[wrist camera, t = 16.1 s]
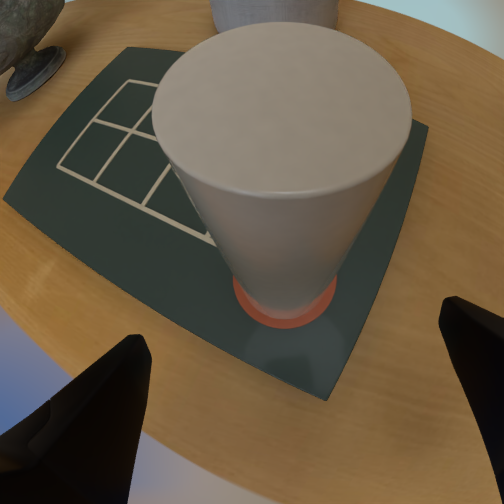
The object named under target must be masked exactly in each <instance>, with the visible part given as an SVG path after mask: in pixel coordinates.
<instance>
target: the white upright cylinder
mask: <svg viewBox="0 0 504 504" xmlns="http://www.w3.org/2000/svg"><path fill="white" fill-rule="evenodd" d="M152 125H153V131H154V133H155V136H156V139H157V142H158V143H159V145H160V147H161V149H162V151H163V153H164V154H165V156H166V158H167V160H168V162H169V163H170V165H171V167H172V169H173V171H174V172H175V174H176V176H177V178H178V180H179V181H180V183H181V185H182V187H183V188H184V190H185V192H186V194H187V196H188V197H189V199H190V201H191V203H192V204H193V206H194V208H195V210H196V211H197V213H198V215H199V217H200V218H201V220H202V222H203V224H204V225H205V227H206V229H207V231H208V232H209V234H210V236H211V238H212V239H213V241H214V243H215V244H216V246H217V248H218V250H219V251H220V253H221V255H222V257H223V258H224V260H225V262H226V263H227V265H228V267H229V268H230V270H231V272H232V274H233V275H234V277H235V279H236V280H237V282H238V284H239V285H240V287H241V289H242V290H243V292H244V294H245V295H246V297H247V299H248V300H249V302H250V303H251V304H252V305H253V307H255V308H256V309H257V310H258V311H259V312H261V313H262V314H264V315H266V316H269V317H272V318H276V319H293V318H297V317H300V316H303V315H305V314H307V313H308V312H310V311H311V310H312V309H313V308H315V307H316V306H317V304H318V303H319V302H320V301H321V299H322V297H323V296H324V294H325V293H326V291H327V289H328V288H329V286H330V284H331V283H332V281H333V279H334V278H335V276H336V274H337V273H338V271H339V269H340V267H341V266H342V264H343V262H344V261H345V259H346V257H347V255H348V254H349V252H350V250H351V248H352V247H353V245H354V243H355V241H356V240H357V238H358V236H359V234H360V232H361V231H362V229H363V227H364V225H365V223H366V221H367V220H368V218H369V216H370V214H371V212H372V210H373V208H374V207H375V205H376V203H377V201H378V199H379V197H380V195H381V193H382V191H383V189H384V187H385V185H386V183H387V181H388V179H389V177H390V175H391V173H392V171H393V169H394V167H395V165H396V163H397V161H398V159H399V157H400V155H401V153H402V151H403V149H404V147H405V145H406V143H407V140H408V138H409V134H410V131H411V126H412V108H411V101H410V98H409V94H408V91H407V89H406V87H405V85H404V83H403V81H402V79H401V77H400V76H399V75H398V73H397V72H396V70H395V69H394V68H393V67H392V66H391V65H390V63H389V62H388V61H387V60H386V59H384V58H383V57H382V56H381V55H380V54H379V53H378V52H376V51H375V50H373V49H372V48H371V47H369V46H368V45H366V44H364V43H363V42H361V41H359V40H357V39H355V38H353V37H351V36H349V35H346V34H344V33H341V32H339V31H336V30H333V29H330V28H326V27H322V26H318V25H312V24H306V23H297V22H265V23H257V24H251V25H246V26H241V27H237V28H234V29H231V30H227V31H224V32H222V33H219V34H217V35H214V36H212V37H210V38H208V39H206V40H204V41H202V42H201V43H199V44H197V45H196V46H194V47H192V48H191V49H190V50H188V51H187V52H186V53H184V54H183V55H182V56H181V57H180V58H179V59H178V60H177V61H176V62H175V63H174V64H173V65H172V66H171V67H170V68H169V69H168V71H167V72H166V73H165V75H164V76H163V78H162V80H161V81H160V83H159V85H158V87H157V90H156V92H155V95H154V99H153V104H152Z"/></svg>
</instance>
